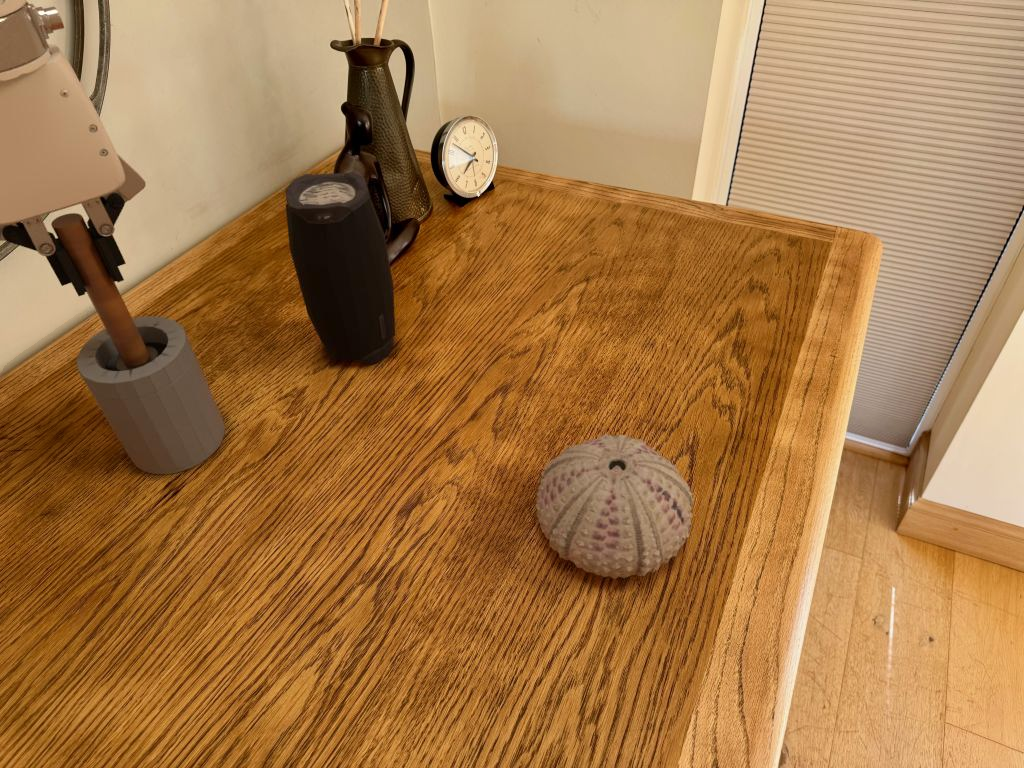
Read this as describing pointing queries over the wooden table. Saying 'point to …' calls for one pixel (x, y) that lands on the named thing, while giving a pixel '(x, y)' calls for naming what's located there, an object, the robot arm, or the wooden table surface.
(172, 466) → the hollow cylinder
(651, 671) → the wooden table surface
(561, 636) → the wooden table surface
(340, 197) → the portable speaker
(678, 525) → the sea urchin shell
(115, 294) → the brown pestle
